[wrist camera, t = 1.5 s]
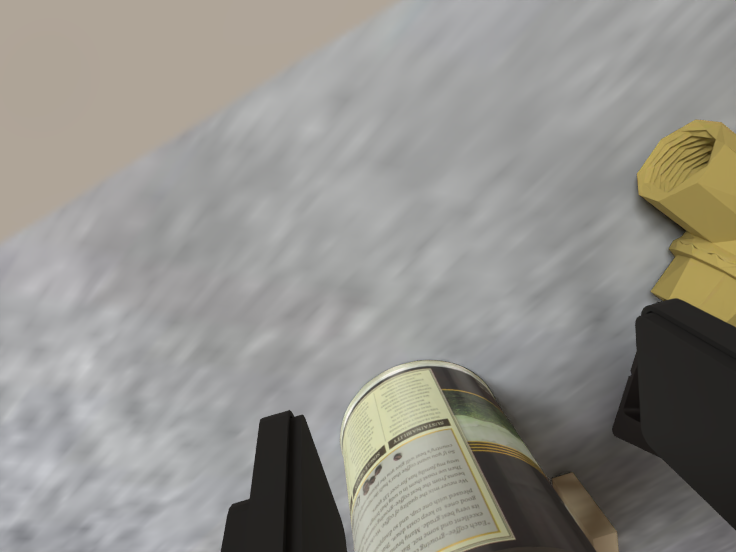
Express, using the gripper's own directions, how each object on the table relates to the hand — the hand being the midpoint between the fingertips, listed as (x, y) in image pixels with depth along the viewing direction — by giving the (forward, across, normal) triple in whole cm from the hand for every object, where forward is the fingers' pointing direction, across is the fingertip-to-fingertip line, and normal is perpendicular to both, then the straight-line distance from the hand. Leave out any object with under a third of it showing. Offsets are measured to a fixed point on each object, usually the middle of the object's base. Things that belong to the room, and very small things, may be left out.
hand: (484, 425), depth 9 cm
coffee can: (+18, 0, +14) cm, 23 cm away
